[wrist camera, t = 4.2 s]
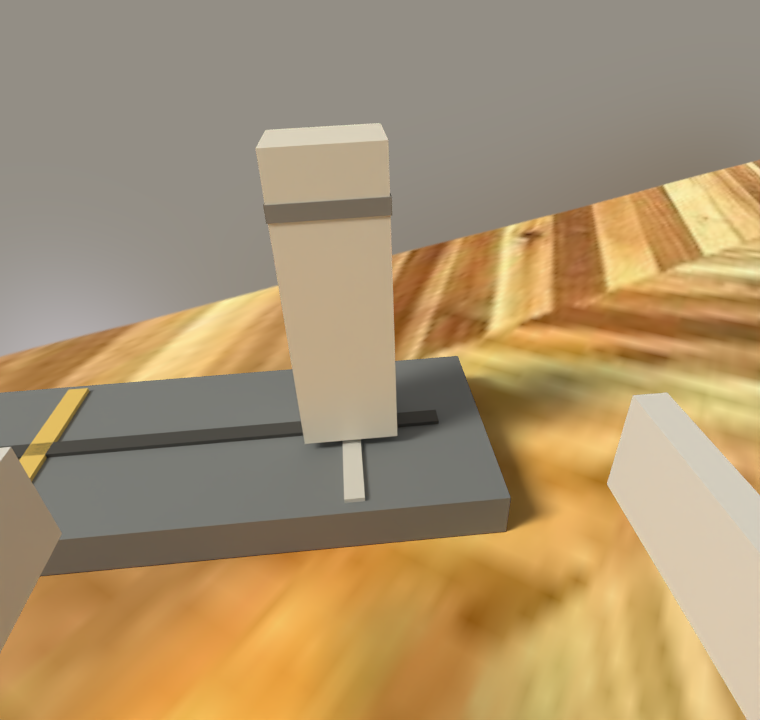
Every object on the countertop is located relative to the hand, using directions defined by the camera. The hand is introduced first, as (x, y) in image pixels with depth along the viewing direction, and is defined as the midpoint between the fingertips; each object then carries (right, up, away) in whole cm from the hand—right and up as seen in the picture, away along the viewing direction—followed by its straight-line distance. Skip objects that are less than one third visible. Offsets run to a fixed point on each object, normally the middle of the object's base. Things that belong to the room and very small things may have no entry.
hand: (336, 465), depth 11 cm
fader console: (-7, -3, +13) cm, 15 cm away
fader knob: (0, 0, +12) cm, 12 cm away
